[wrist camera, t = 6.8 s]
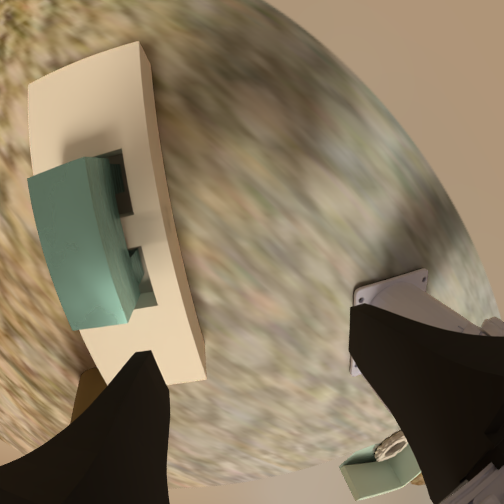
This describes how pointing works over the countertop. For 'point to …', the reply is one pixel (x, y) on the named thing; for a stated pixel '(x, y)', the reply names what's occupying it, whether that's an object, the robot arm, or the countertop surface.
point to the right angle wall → (380, 468)
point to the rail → (124, 200)
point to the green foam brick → (86, 241)
